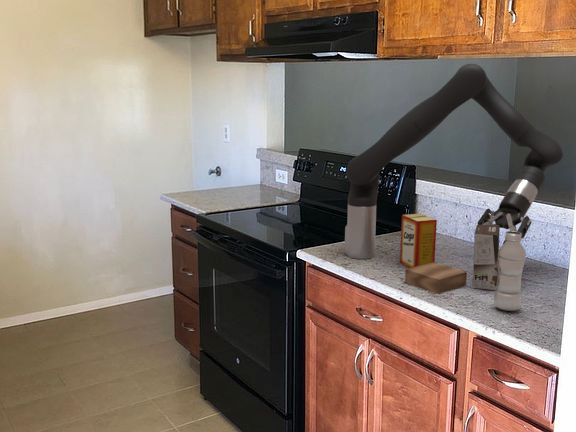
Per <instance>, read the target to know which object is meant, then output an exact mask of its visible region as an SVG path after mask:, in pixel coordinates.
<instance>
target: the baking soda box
mask: <svg viewBox="0 0 576 432" xmlns="http://www.w3.org/2000/svg"><path fill="white" fill-rule="evenodd" d="M437 223H438V219H436V218H433V217H431V216H428V215H427V214H425V213H411V214H410V213H409V214H402V215H401V227H400V229H401V230H400V231H401V232H400V249H399V251H400V254H399V264H401V265H403V266H405V267H406V268H407V269H408V268H412V267H416V266H420V265H424V264H428V263H432V262H436V261H435V258H436V257H435V256H436V241H437V240H436V239H437V226H438V225H437Z"/></svg>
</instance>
